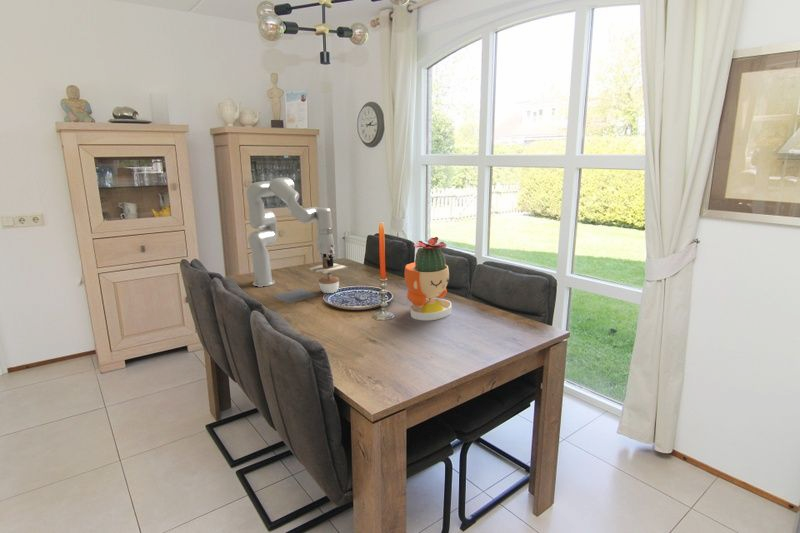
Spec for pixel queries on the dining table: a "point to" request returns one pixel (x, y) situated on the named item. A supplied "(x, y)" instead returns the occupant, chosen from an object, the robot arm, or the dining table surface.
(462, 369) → the dining table surface
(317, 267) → the birch lid
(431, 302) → the potted cactus
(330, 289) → the lidded jar
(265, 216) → the robot arm
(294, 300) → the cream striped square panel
